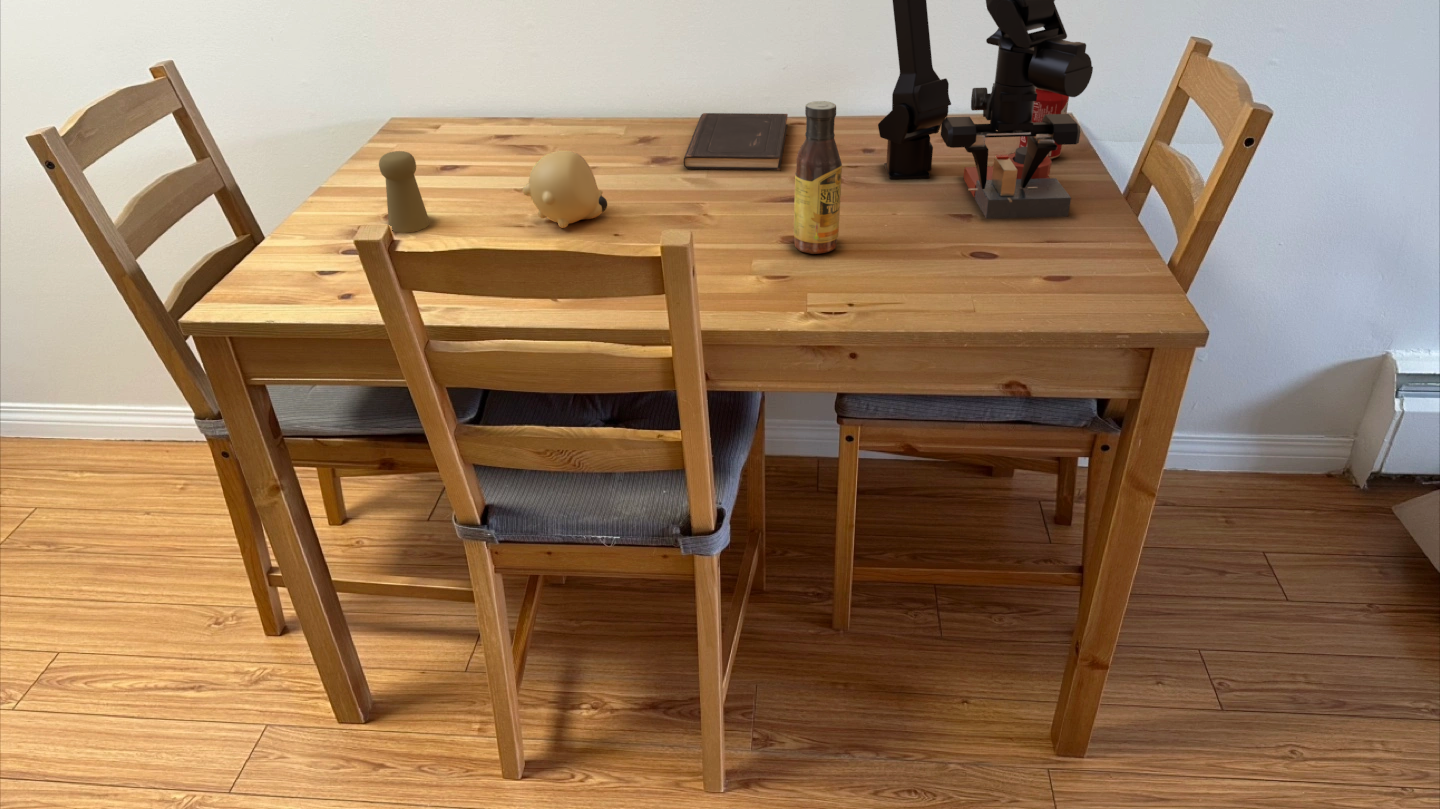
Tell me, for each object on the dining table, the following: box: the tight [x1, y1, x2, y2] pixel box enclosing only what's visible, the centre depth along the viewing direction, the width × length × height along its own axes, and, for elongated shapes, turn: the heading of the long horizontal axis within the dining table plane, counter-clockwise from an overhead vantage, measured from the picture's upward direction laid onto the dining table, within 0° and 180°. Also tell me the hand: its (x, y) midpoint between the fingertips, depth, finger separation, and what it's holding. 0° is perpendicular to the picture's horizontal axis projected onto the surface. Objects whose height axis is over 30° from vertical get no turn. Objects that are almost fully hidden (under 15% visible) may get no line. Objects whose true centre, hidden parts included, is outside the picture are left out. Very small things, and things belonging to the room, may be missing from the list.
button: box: [1014, 147, 1027, 164], centre depth 164 cm, size 4×4×2 cm
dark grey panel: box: [967, 177, 1072, 220], centre depth 157 cm, size 14×10×3 cm
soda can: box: [1018, 87, 1070, 161], centre depth 173 cm, size 7×7×12 cm
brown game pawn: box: [378, 150, 431, 234], centre depth 156 cm, size 6×6×11 cm
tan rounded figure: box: [522, 149, 608, 229], centre depth 156 cm, size 10×12×11 cm
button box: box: [962, 152, 1053, 198], centre depth 164 cm, size 12×8×4 cm
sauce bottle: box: [793, 100, 843, 255], centre depth 143 cm, size 7×6×20 cm
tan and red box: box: [992, 154, 1017, 196], centre depth 155 cm, size 6×2×4 cm, turn 0°
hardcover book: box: [682, 112, 789, 171], centre depth 184 cm, size 16×23×2 cm
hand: (1002, 187), depth 156 cm, fingers open, 6 cm apart
